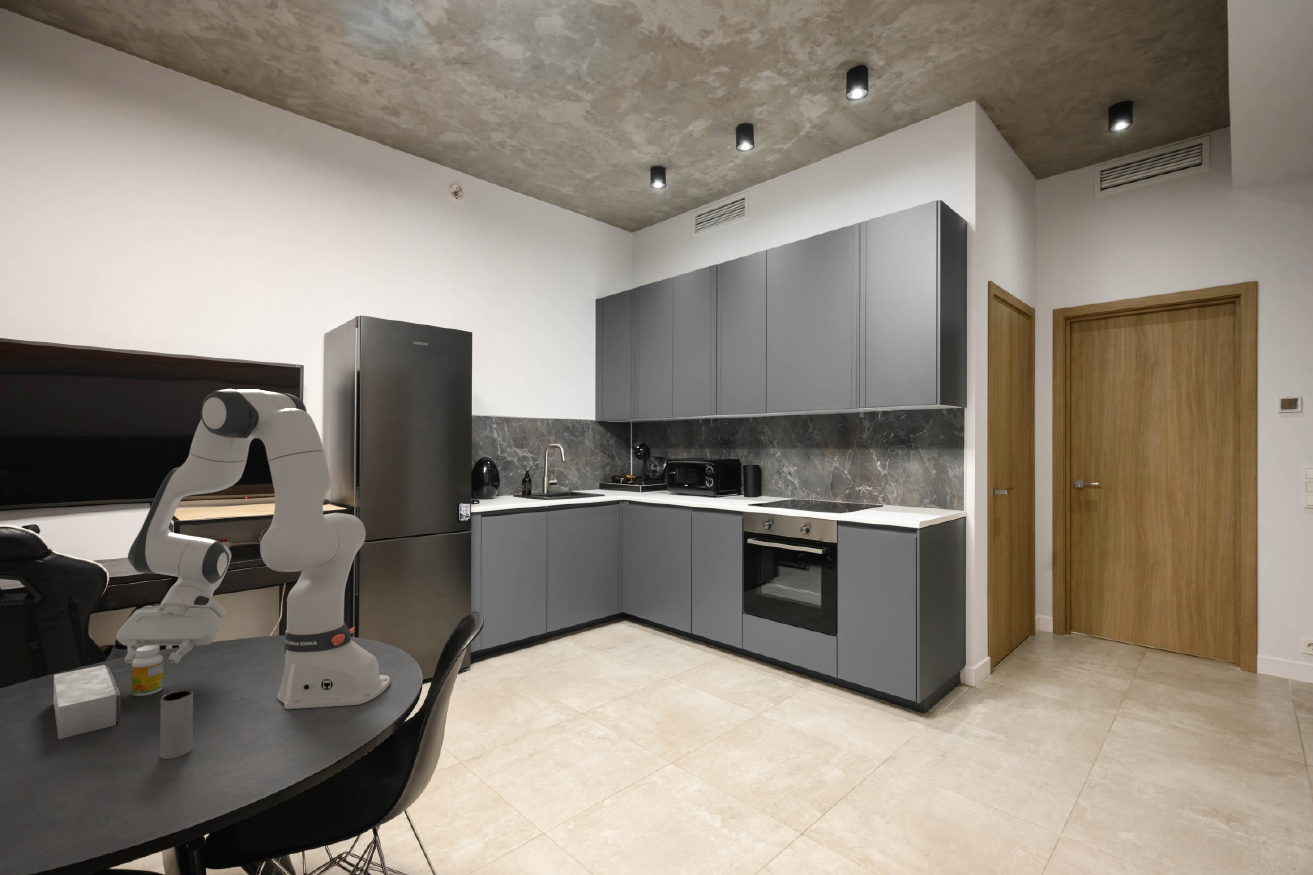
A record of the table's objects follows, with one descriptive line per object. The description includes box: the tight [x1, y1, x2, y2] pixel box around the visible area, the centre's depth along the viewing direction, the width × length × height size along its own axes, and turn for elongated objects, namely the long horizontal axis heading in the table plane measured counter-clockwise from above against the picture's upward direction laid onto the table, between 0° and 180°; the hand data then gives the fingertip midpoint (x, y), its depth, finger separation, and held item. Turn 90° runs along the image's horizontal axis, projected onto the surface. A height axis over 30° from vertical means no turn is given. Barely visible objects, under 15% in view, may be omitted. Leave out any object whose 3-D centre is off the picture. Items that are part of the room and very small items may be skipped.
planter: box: [159, 689, 194, 760], centre depth 108 cm, size 4×4×10 cm
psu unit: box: [53, 664, 121, 740], centre depth 123 cm, size 22×9×6 cm, turn 47°
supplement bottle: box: [130, 645, 164, 697], centre depth 134 cm, size 5×5×10 cm
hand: (150, 661), depth 135 cm, fingers open, 8 cm apart
